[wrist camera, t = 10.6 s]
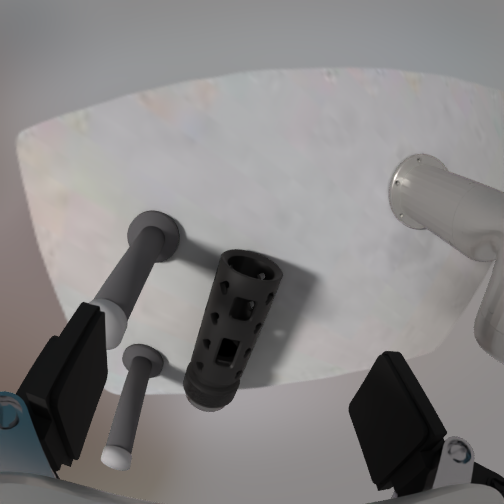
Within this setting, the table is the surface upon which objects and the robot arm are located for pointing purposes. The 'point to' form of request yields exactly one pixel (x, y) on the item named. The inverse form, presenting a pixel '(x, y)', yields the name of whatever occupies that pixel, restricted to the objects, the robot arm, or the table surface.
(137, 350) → the cord post
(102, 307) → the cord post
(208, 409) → the muzzle brake
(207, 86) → the table surface
